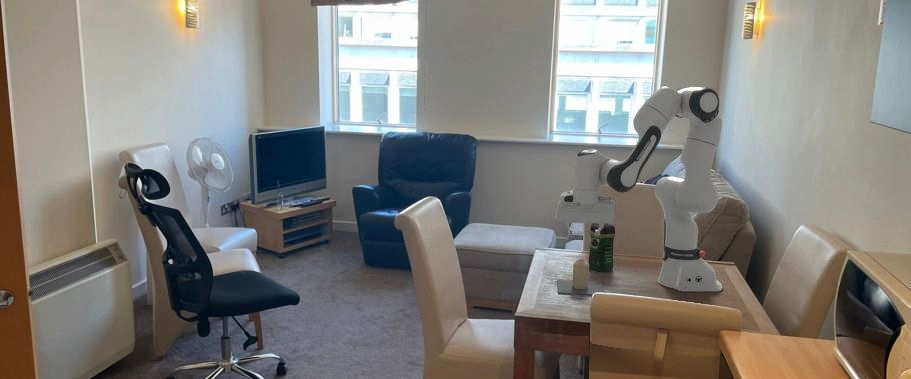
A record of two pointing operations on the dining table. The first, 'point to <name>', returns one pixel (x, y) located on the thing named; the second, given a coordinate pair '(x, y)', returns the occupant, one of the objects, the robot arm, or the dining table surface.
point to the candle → (580, 274)
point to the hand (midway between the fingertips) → (583, 234)
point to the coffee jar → (601, 248)
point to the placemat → (567, 288)
